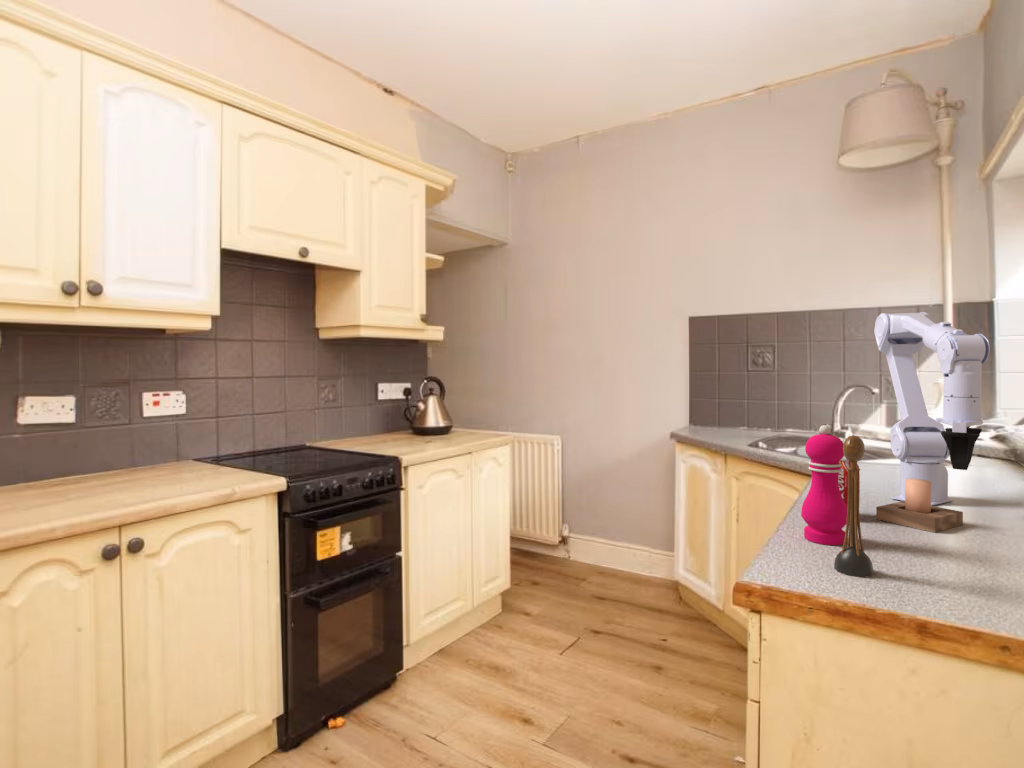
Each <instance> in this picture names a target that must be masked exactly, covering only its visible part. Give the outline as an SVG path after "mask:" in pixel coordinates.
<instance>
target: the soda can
mask: <svg viewBox="0 0 1024 768" xmlns="http://www.w3.org/2000/svg"><path fill="white" fill-rule="evenodd" d="M839 463H841V464H842V466H840V467H841V470H842V471H841V472H839V476H838V485H839V490H840V493H841V496H842V498H843V500H844V502H845V504H846V506H847V508H848V469H847V468H851V461H849V460H847V459H846V458H845V456H843V458H842V459H841V460H840V461H839ZM857 468H858V469H860V466H859V464H858V463H857ZM860 475H861V474H860V473H859V501H860V500H861V499H860V497H861V496H860V494H861V493H860V489H861V488H860V487H861V486H860V483H861V481H860Z"/></svg>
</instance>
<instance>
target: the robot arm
mask: <svg viewBox="0 0 1024 768" xmlns="http://www.w3.org/2000/svg"><path fill="white" fill-rule="evenodd" d="M873 331H874V337H875V341H876V345H877V347H878V348H877V349H878V351H879V352H881V353H883V354H885V357H886V361H887V365H888V368H889V369H888V370H889V373H890V374H889V375H890V378H891V381H892V386H893V391H894V394H895V398H896V402H897V407H898V411H899V415H900V418H901V419H900V420H899V421H897V422H896V423H895V424H893V426H892V427H891V429H890V431H889V435H890V449H891V452H892V454H893V455H894V456H895V457H896V458H897V460H899V463H900V465H899V466H900V467H899V468H900V469H899V472H900V473H899V474H900V475H899V478H900V480H899V481H900V482H899V489H900V490H899V494H898V495H892V496H891V499H892V500H897V501H900V502H902V501H905V479H921V480H927V481H931V506H936V505H941V504H945V503H949V502H953V501H954V500H953V498H949V473H948V469H947V467H946V466H945V465H944V464H945V461H946V460H947V459H948V458H950V463H951V466H952V469H953V470H962V471H967V470H968V469H969V466H970V464H971V461H972V457H973V452H974V448H975V444H976V441H978V439H979V437H980V436H981V435H980V434H981V433H982V432H983V431H982V428H978V427H974V426H981V425H983V422H984V421H983V419H982V393H983V391H982V390H983V389H982V384H983V383H982V381H983V378H982V375H983V373H982V372H983V369H982V367H983V366H982V365H983V364H985V363H986V362H987V361H988V358H989V356H990V350H991V347H990V342H989V339H988V337H986V336H985V335H984V334H983V333H975V334H968V333H966V332H964V330H963V329H960V328H959V329H957V328H956V327H954V326H952V323H951V322H949V321H941V322H938V323H935V322H934V321H932V318H931V314H930V313H927V312H925V311H921V312H906V313H905V312H901V313H900V312H899V313H885V312H882V313H880V314H879V315H878V316H877V318H875V323H874V330H873ZM924 346H925V347H926V348H928V349H930V350H931V351H933V352H934V353H936V356H937V359H938V362H939V364H940V366H939V367H940V368H939V371H940V373H941V374H943V396H942V397H943V399H942V400H943V411H942V413H943V414H942V415H943V416H942V418H940V417H937V418H935V419H934V418H932V417H931V416H929V414H928V411H927V406H926V404H925V403H926V402H925V399H924V395H923V392H922V387H921V383H920V380H919V376H918V373H917V368H916V366H915V362H914V359H913V355H915V354H917V353H918V352H921V351H922V349H923V348H924ZM943 424H945V425H949V426H952V427H946V428H945V427H944V425H943ZM972 426H973V427H972Z"/></svg>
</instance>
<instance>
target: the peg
mask: <svg viewBox="0 0 1024 768" xmlns="http://www.w3.org/2000/svg"><path fill="white" fill-rule="evenodd" d="M905 510H909V511H914V512H919V513H924V514H929V513H931V481H927V480H921V479H905Z"/></svg>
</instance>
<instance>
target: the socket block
mask: <svg viewBox="0 0 1024 768" xmlns="http://www.w3.org/2000/svg"><path fill="white" fill-rule="evenodd" d="M875 512H876V513H875V515H876V518H875V519H878V521H881V520H883V521H882V522H885V521H887V522H886V523H890V522H892V523H891V524H894V523H896V525H899V524H900V525H899V526H903V525H904V526H905V527H907V526H909V527H908V528H912V527H913V528H912V529H916V528H918V529H917V530H921V529H922V530H921V531H925V530H926V532H930V531H931V532H930V533H934V532H935V533H939V532H942V531H946V530H949V529H954V528H956V527H960V525H961V526H963V525H964V511H961V510H955V509H950V508H946V507H945V508H944V507H939V506H936V505H933V506H931V513H929V514H924V513H919V512H914V511H909V510H905V501H898V502H893V503H892V502H891V503H888V504H884V505H879V506H876V511H875ZM938 531H939V532H938Z"/></svg>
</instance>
